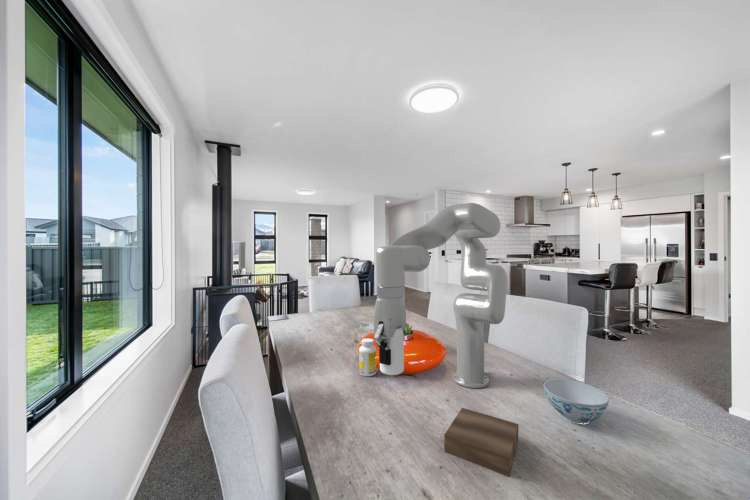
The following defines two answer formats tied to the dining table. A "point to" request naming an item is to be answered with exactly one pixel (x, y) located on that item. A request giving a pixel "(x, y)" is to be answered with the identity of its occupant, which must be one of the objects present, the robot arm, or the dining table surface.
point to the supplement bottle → (367, 358)
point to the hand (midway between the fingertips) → (391, 358)
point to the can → (395, 354)
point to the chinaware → (576, 400)
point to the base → (482, 440)
